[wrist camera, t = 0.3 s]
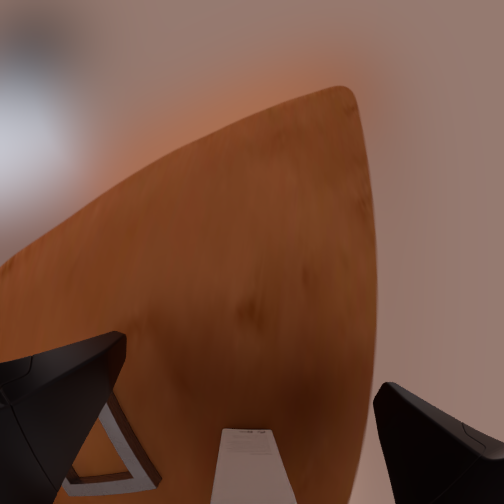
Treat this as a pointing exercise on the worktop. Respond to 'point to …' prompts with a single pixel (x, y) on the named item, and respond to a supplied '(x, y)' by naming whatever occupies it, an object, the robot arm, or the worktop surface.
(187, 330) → the worktop surface
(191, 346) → the worktop surface
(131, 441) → the silver metal square frame
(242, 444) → the skincare box
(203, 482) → the worktop surface
